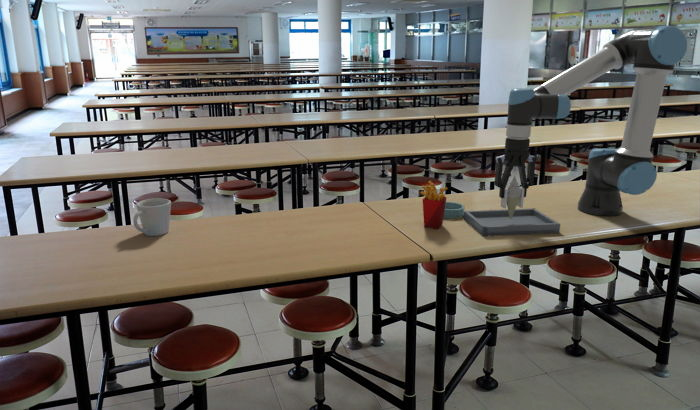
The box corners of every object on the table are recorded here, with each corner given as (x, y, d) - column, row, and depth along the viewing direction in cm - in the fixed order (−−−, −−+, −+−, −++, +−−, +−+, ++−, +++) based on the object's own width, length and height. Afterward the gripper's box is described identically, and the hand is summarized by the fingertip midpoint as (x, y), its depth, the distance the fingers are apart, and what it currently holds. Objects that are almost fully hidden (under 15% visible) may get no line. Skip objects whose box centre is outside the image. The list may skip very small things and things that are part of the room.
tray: (533, 216, 196) (534, 208, 196) (559, 232, 179) (560, 224, 178) (463, 219, 193) (464, 211, 192) (483, 236, 175) (483, 227, 175)
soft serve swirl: (519, 221, 182) (523, 177, 178) (503, 220, 183) (506, 176, 179) (517, 217, 187) (521, 174, 183) (502, 216, 188) (505, 173, 184)
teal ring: (457, 209, 205) (458, 201, 204) (468, 217, 195) (468, 209, 194) (430, 210, 203) (430, 202, 202) (439, 218, 193) (439, 210, 192)
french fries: (445, 224, 187) (448, 181, 182) (439, 231, 179) (441, 187, 175) (420, 221, 190) (422, 178, 186) (413, 228, 183) (414, 184, 179)
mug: (180, 229, 180) (177, 199, 178) (150, 244, 167) (147, 212, 164) (153, 225, 184) (150, 196, 181) (122, 240, 170) (118, 208, 167)
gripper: (538, 135, 183) (531, 202, 189) (486, 136, 180) (481, 204, 186) (550, 138, 175) (542, 208, 182) (495, 140, 173) (490, 211, 179)
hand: (511, 206), depth 184 cm, fingers open, 5 cm apart
